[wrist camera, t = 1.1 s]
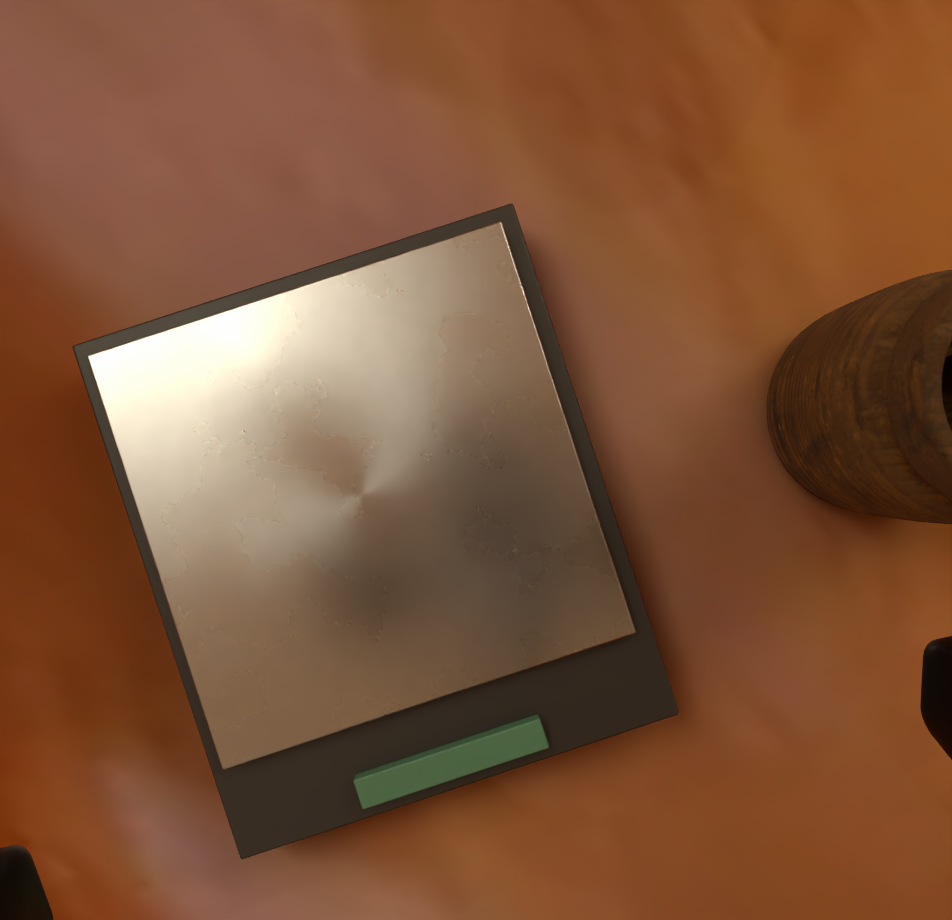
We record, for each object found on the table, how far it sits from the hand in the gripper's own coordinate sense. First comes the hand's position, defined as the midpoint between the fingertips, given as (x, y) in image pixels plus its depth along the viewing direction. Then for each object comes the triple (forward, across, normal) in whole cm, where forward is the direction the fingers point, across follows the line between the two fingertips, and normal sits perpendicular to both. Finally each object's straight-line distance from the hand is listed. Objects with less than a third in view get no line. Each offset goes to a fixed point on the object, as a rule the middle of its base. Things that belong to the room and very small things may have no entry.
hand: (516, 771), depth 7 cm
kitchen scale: (+14, +1, +2) cm, 14 cm away
